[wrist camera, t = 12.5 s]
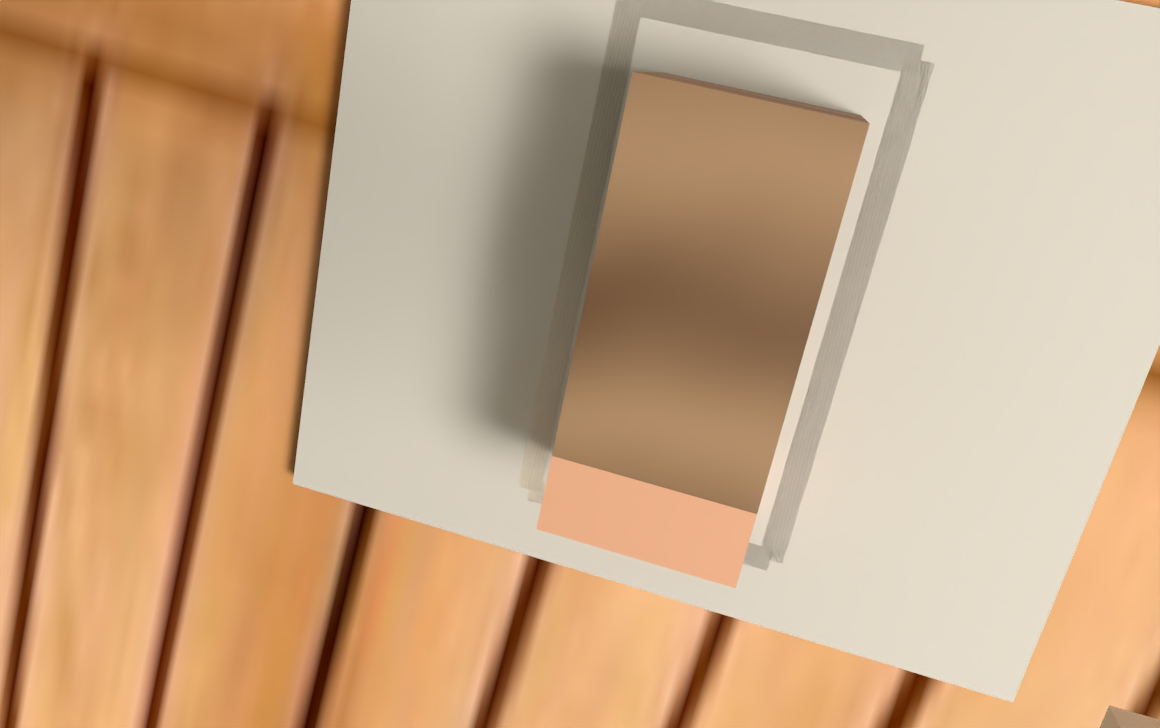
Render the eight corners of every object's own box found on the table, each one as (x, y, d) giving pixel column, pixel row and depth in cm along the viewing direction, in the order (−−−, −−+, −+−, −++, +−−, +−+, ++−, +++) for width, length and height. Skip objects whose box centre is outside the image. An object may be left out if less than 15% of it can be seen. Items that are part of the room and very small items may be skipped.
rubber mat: (302, 476, 32) (292, 483, 31) (378, -140, 26) (368, -145, 25) (1009, 690, 28) (1012, 702, 28) (1275, 34, 22) (1287, 32, 22)
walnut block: (663, 72, 25) (632, 71, 21) (861, 115, 24) (870, 123, 20) (578, 462, 29) (536, 528, 24) (748, 510, 28) (735, 588, 24)
